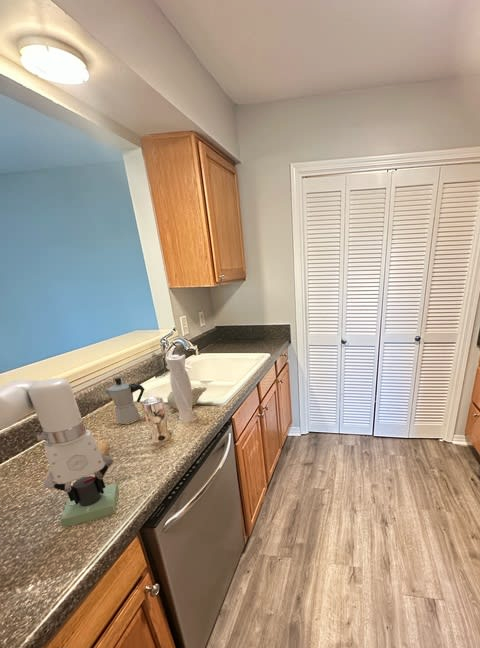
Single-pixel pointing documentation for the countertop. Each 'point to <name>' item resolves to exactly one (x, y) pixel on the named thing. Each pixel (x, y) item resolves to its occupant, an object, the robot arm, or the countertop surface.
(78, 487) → the dial
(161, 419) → the beer glass
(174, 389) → the skyscraper
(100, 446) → the button block
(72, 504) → the dial panel
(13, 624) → the countertop surface
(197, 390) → the cheese
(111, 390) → the coffee maker
